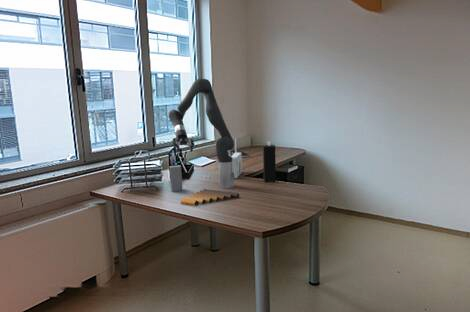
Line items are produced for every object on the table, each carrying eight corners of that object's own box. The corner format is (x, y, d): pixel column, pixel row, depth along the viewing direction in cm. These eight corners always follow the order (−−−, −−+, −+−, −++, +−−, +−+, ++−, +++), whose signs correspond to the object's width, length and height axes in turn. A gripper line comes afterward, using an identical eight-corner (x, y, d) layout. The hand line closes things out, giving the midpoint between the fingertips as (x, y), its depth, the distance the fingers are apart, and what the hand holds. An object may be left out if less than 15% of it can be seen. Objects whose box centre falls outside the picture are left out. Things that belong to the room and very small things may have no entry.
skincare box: (237, 178, 259) (236, 157, 256) (229, 178, 260) (228, 157, 258) (242, 172, 280) (241, 152, 277) (235, 172, 281) (234, 152, 278)
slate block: (171, 189, 237) (169, 166, 234) (181, 188, 239) (180, 165, 236) (171, 191, 233) (170, 167, 230) (182, 190, 235) (180, 166, 232)
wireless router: (250, 158, 333) (250, 137, 329) (226, 160, 328) (225, 138, 324) (241, 152, 365) (241, 133, 361) (219, 154, 360) (218, 134, 356)
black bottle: (263, 179, 254) (262, 140, 249) (274, 179, 255) (273, 140, 249) (264, 182, 247) (263, 142, 242) (276, 181, 247) (275, 141, 242)
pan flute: (239, 197, 216) (205, 193, 228) (239, 192, 215) (205, 188, 228) (216, 210, 195) (180, 204, 207) (216, 204, 194) (180, 199, 207)
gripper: (171, 128, 240) (176, 147, 231) (191, 129, 247) (197, 147, 238) (169, 136, 246) (173, 154, 237) (188, 136, 252) (194, 154, 243)
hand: (185, 151), depth 237 cm, fingers open, 8 cm apart
